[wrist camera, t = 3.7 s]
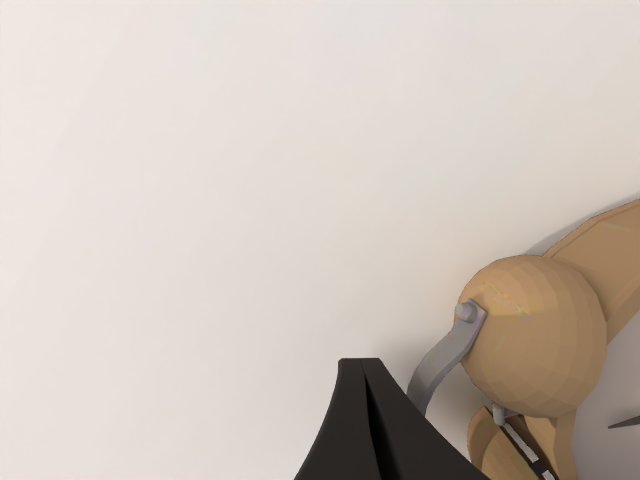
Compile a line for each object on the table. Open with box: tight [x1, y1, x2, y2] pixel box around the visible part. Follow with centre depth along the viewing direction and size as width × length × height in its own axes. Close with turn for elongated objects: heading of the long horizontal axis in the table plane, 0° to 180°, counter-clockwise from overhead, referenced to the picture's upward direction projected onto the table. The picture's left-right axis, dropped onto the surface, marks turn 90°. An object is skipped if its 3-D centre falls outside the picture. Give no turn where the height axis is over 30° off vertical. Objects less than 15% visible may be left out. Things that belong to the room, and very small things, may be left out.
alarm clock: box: [407, 199, 640, 480], centre depth 11 cm, size 11×5×15 cm
